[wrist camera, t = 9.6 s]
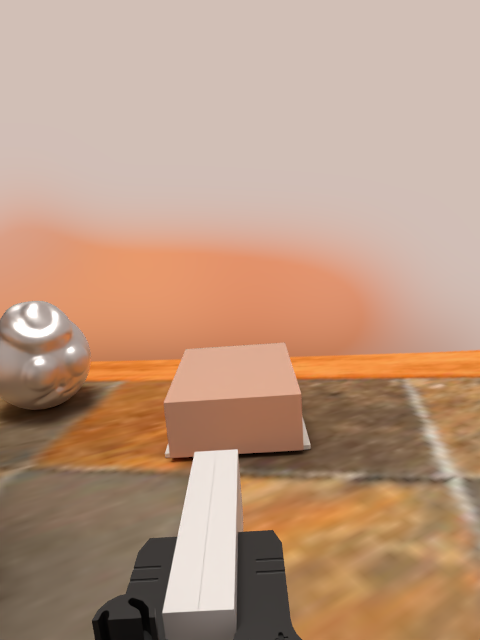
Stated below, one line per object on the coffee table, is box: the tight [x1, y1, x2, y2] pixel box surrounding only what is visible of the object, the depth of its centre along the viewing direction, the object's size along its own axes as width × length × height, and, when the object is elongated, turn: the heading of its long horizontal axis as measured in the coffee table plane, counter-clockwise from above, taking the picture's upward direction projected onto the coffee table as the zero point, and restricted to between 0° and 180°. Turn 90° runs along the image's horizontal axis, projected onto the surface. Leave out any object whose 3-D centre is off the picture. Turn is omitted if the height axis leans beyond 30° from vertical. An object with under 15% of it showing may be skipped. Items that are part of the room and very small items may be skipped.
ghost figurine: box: [0, 301, 91, 410], centre depth 41 cm, size 9×10×10 cm
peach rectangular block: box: [164, 343, 304, 458], centre depth 36 cm, size 4×9×12 cm
